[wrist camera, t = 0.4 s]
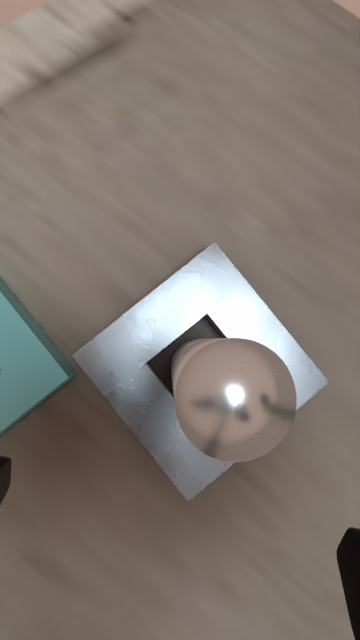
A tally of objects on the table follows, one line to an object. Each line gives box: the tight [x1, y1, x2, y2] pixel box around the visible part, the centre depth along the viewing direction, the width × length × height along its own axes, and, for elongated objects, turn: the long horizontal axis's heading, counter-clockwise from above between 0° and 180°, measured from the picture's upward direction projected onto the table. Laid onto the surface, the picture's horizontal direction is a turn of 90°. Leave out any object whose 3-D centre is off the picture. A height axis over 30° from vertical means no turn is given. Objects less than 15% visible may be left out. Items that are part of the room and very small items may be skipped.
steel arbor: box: [171, 338, 297, 462], centre depth 17 cm, size 4×4×13 cm
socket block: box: [72, 242, 329, 502], centre depth 23 cm, size 12×12×2 cm
